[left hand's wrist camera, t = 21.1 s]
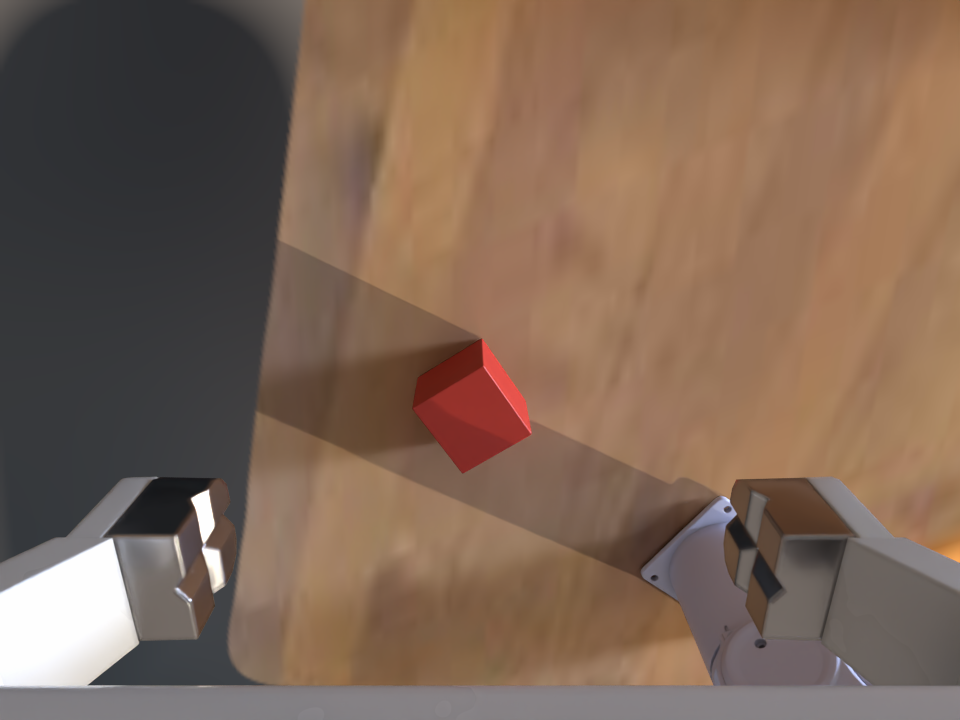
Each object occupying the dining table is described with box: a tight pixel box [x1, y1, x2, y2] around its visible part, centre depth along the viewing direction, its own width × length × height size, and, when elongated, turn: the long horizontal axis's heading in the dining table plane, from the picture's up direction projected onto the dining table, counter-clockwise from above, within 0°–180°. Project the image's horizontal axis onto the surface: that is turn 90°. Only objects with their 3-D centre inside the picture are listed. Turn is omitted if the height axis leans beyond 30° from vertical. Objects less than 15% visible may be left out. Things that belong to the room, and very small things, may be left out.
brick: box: [412, 339, 532, 473], centre depth 38 cm, size 5×5×4 cm
